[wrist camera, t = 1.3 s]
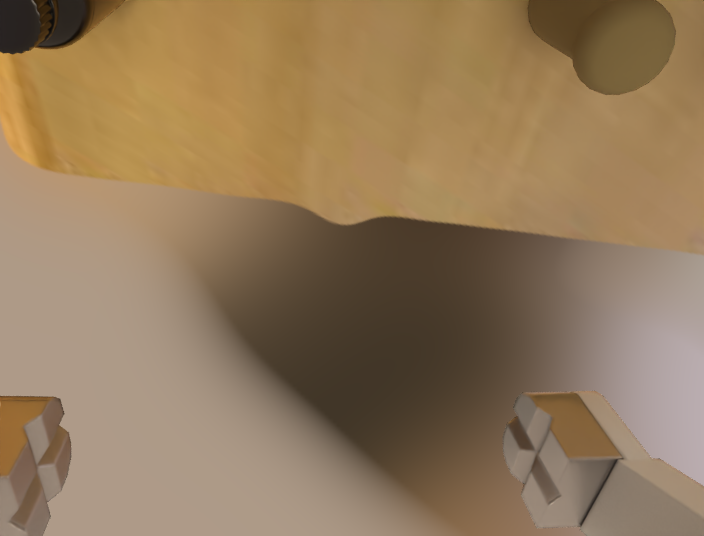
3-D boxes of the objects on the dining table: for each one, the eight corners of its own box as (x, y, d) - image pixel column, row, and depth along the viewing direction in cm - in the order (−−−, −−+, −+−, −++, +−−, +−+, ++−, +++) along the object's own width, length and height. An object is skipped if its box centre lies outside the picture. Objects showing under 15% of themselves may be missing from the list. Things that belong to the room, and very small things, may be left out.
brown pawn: (510, 20, 36) (552, 82, 28) (569, -69, 33) (638, -26, 25) (573, 59, 38) (630, 127, 30) (637, -21, 34) (721, 33, 26)
